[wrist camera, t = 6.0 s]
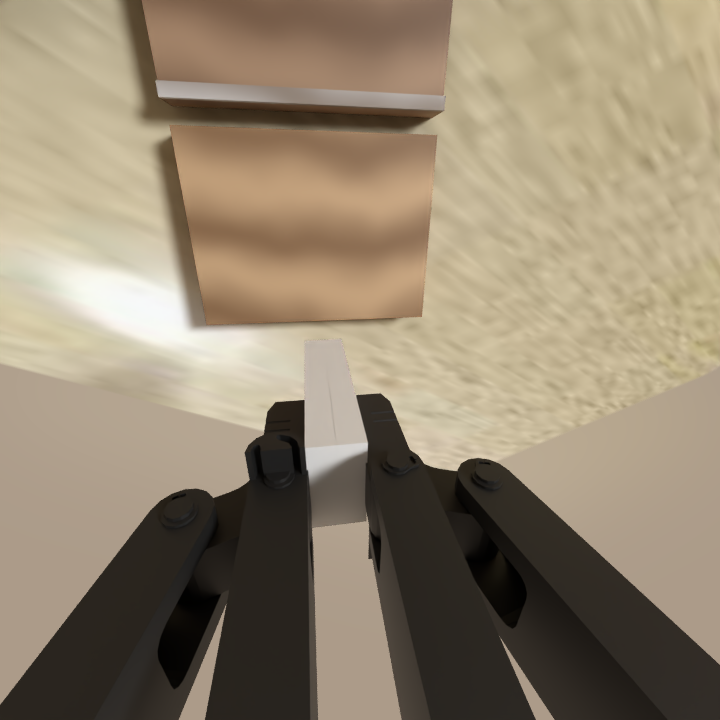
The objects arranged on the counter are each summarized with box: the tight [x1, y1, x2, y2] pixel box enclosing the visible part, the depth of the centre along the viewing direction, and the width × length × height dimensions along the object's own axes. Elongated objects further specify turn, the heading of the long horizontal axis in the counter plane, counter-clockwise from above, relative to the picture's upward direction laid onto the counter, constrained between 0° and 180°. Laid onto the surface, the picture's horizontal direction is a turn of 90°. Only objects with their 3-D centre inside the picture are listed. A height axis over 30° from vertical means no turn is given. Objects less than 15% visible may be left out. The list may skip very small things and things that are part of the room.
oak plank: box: [170, 125, 437, 325], centre depth 26 cm, size 13×18×2 cm
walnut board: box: [142, 0, 453, 118], centre depth 21 cm, size 10×18×2 cm, turn 89°
